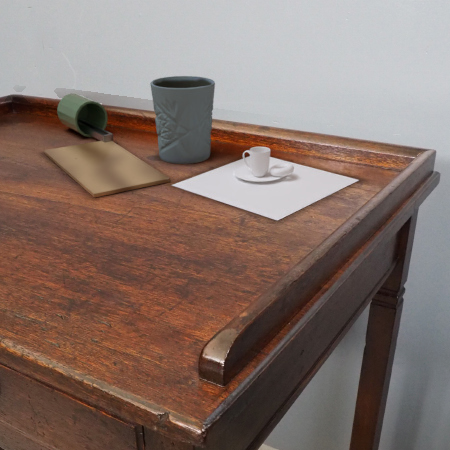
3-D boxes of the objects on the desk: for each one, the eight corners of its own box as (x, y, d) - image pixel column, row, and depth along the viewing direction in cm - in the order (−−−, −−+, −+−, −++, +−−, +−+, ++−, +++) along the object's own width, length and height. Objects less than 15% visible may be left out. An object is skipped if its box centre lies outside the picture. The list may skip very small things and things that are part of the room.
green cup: (59, 130, 118) (77, 140, 112) (54, 95, 114) (72, 104, 109) (90, 124, 121) (109, 133, 115) (86, 91, 118) (105, 98, 112)
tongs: (73, 126, 118) (103, 142, 109) (72, 120, 117) (103, 135, 108) (82, 124, 119) (113, 140, 110) (81, 118, 118) (113, 133, 109)
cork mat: (94, 197, 88) (93, 193, 87) (44, 153, 105) (43, 150, 105) (169, 182, 93) (169, 178, 93) (110, 142, 111) (109, 139, 110)
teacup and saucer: (300, 175, 95) (302, 149, 92) (268, 189, 90) (268, 162, 87) (256, 163, 100) (256, 138, 98) (223, 176, 95) (223, 150, 92)
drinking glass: (143, 159, 102) (137, 84, 96) (176, 143, 110) (173, 72, 104) (196, 168, 98) (193, 90, 92) (226, 151, 105) (226, 78, 99)
